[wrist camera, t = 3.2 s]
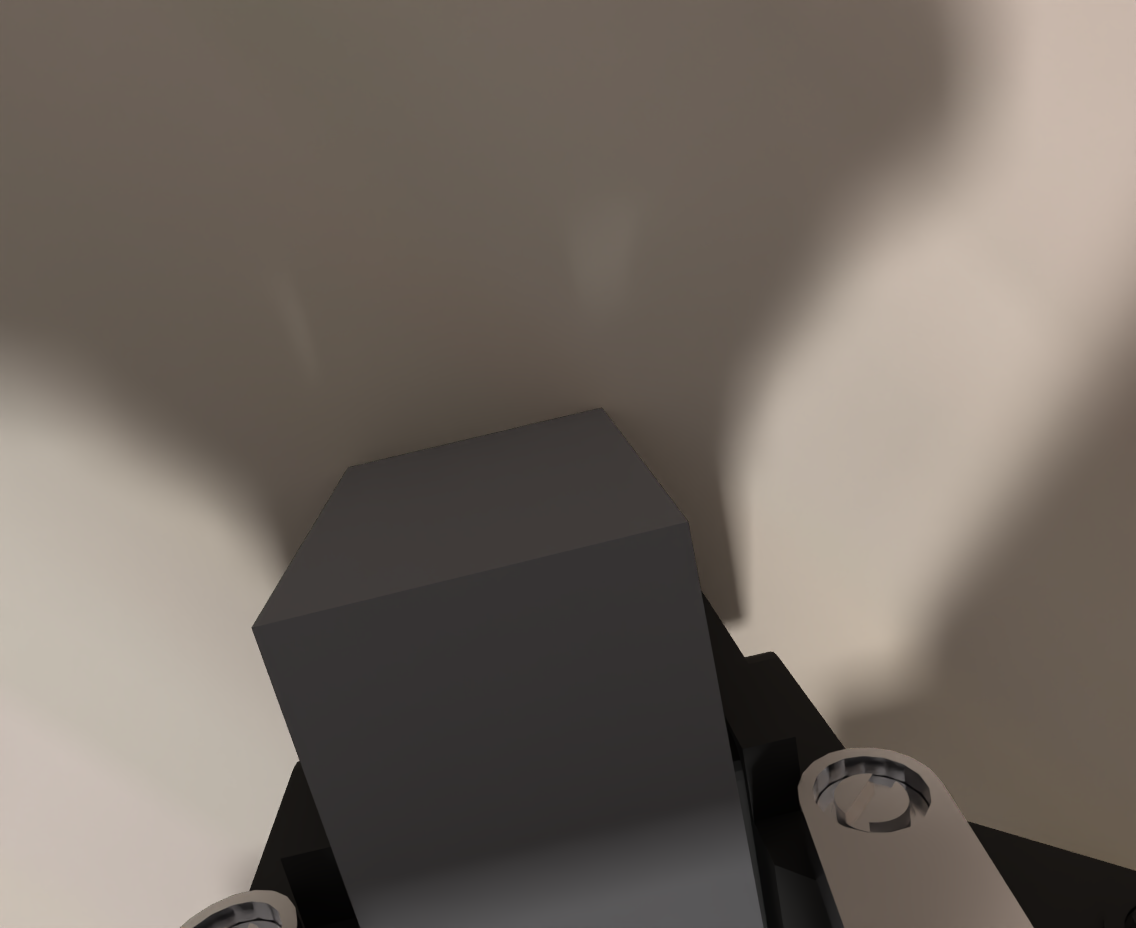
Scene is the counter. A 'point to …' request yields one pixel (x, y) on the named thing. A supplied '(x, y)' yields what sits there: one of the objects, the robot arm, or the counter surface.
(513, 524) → the gray rectangular prism
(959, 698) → the counter surface
